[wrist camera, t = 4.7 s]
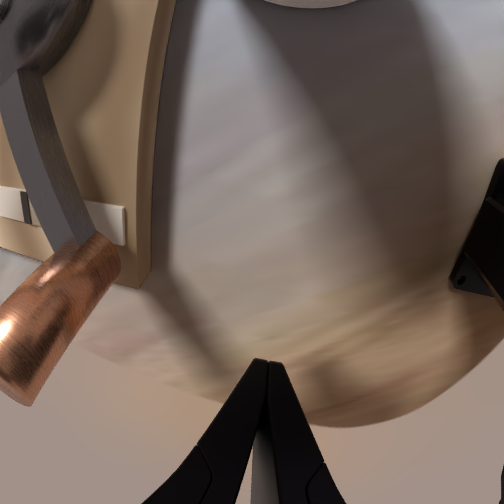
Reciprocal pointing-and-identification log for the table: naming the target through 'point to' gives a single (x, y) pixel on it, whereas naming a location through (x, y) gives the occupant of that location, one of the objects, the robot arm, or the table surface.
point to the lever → (46, 201)
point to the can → (311, 3)
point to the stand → (101, 132)
